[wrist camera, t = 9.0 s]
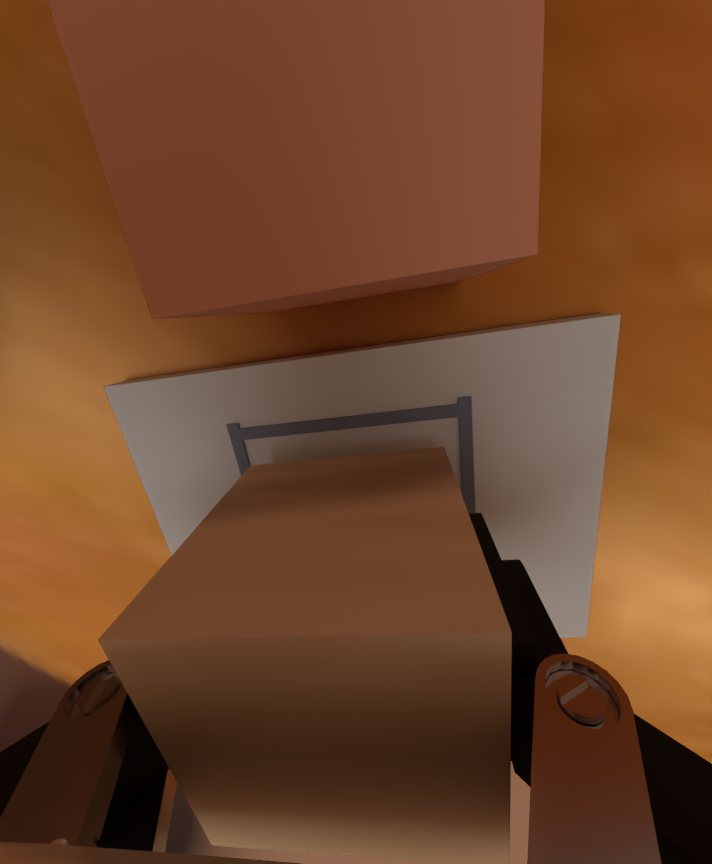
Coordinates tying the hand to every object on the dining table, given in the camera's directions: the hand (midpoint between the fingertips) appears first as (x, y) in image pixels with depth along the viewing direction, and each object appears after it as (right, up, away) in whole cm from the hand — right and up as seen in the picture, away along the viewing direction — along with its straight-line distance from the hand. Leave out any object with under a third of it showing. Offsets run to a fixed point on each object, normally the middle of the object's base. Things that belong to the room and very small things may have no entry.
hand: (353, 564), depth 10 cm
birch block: (0, 0, +1) cm, 1 cm away
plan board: (0, +1, +3) cm, 3 cm away
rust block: (0, +11, 0) cm, 11 cm away
